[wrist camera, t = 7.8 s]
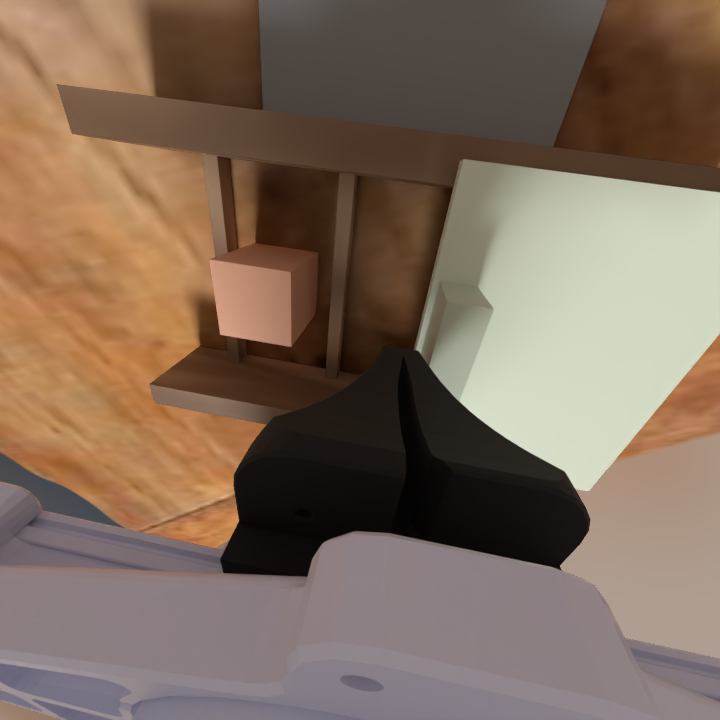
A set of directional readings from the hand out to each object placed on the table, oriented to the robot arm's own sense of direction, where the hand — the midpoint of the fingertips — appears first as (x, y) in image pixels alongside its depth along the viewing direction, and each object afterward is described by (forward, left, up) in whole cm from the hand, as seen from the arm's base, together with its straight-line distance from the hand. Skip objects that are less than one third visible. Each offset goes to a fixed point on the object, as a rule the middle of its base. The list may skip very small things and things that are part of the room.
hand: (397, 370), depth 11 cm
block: (0, +7, -9) cm, 11 cm away
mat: (+13, +1, -9) cm, 15 cm away
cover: (0, -6, -3) cm, 7 cm away
